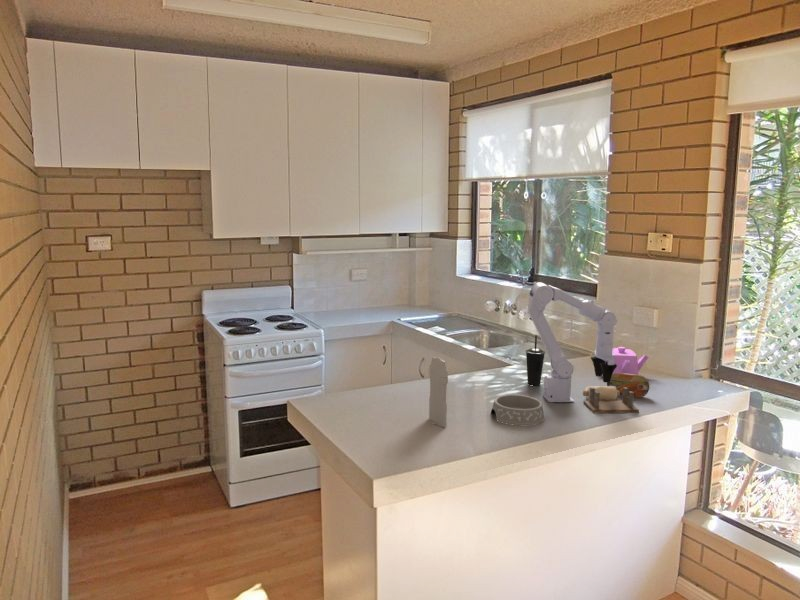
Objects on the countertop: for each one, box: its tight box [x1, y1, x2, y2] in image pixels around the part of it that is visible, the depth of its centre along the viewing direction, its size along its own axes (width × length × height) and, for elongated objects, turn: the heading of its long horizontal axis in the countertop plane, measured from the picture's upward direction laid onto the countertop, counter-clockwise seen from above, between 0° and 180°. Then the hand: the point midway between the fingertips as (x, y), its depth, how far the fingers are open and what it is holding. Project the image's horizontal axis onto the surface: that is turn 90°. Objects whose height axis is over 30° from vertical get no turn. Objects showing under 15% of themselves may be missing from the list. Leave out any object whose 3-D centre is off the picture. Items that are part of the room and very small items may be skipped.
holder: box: [583, 387, 640, 414], centre depth 218 cm, size 16×10×6 cm, turn 93°
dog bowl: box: [490, 394, 546, 426], centre depth 209 cm, size 17×18×5 cm
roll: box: [582, 385, 621, 401], centre depth 227 cm, size 13×5×5 cm, turn 93°
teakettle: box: [612, 346, 650, 375], centre depth 257 cm, size 17×17×12 cm
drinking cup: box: [525, 334, 546, 387], centre depth 243 cm, size 8×8×20 cm
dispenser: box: [428, 356, 449, 428], centre depth 200 cm, size 11×4×22 cm, turn 28°
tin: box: [606, 373, 650, 399], centre depth 232 cm, size 15×3×8 cm, turn 62°
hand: (602, 379), depth 226 cm, fingers open, 7 cm apart
